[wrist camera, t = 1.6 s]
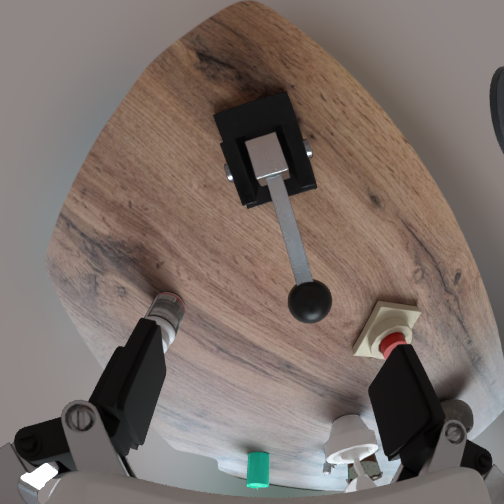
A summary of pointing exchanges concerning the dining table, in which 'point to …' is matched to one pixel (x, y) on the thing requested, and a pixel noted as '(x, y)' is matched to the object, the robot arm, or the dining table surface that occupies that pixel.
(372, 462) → the food container
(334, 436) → the potted plant
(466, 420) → the bowl
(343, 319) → the dining table surface
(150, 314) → the pill bottle
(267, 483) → the candle
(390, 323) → the button box
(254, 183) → the bracket
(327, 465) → the white flat branched piece
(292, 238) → the lever
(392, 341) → the button
